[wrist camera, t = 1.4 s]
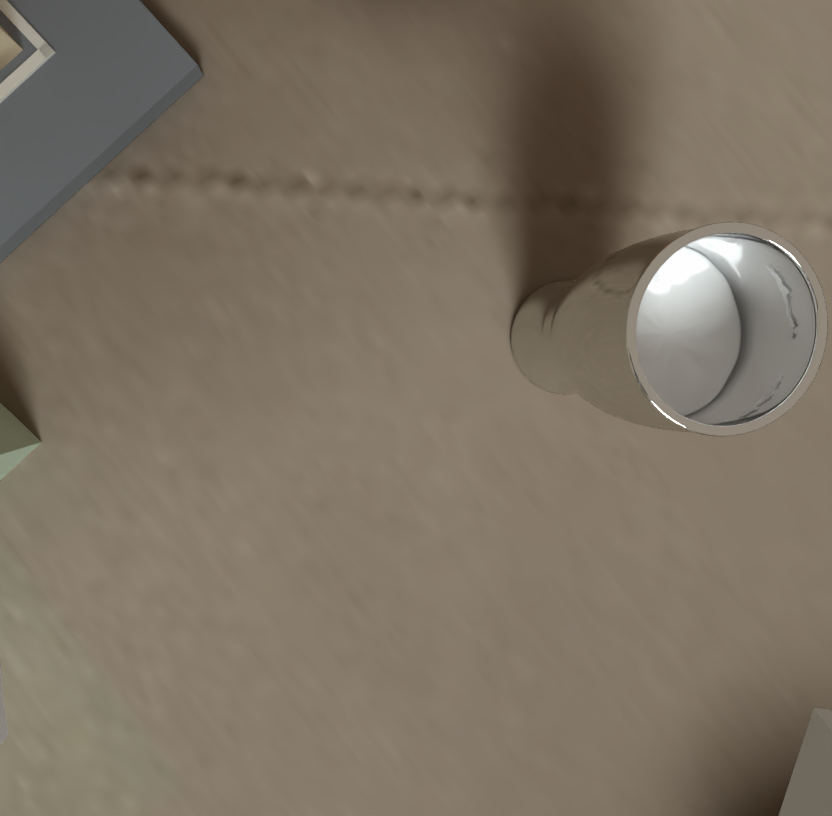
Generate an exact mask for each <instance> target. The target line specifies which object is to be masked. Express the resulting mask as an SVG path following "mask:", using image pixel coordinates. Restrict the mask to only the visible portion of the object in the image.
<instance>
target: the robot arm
mask: <svg viewBox="0 0 832 816" xmlns="http://www.w3.org/2000/svg"><path fill="white" fill-rule="evenodd" d="M7 737H8V731H7V721H6V712H5V702H4V693H3V683H2V674H1V664H0V745H1V744H2V742H3V741H4V740H5V739H6V738H7ZM779 816H832V710H828V709H820V708H814V709H813V712H812V715H811V718H810V721H809V724H808V727H807V730H806V734H805V737H804V740H803V743H802V746H801V749H800V752H799V755H798V758H797V761H796V764H795V767H794V770H793V773H792V776H791V779H790V782H789V785H788V788H787V791H786V794H785V797H784V800H783V803H782V807H781V810H780V813H779Z"/></svg>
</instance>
